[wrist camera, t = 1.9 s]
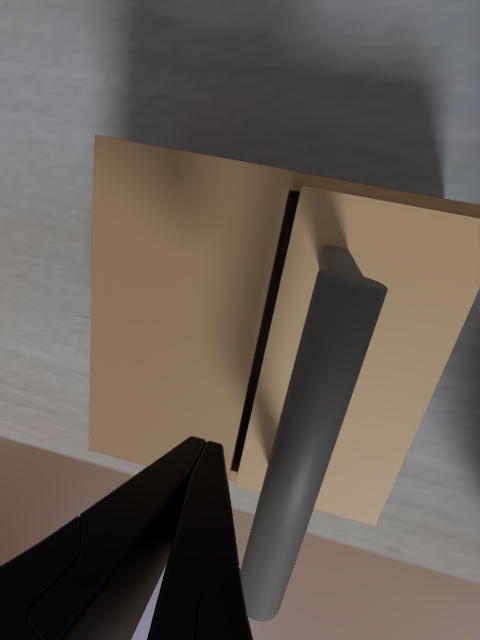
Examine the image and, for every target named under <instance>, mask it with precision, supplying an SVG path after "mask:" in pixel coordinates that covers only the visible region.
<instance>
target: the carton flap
mask: <svg viewBox="0 0 480 640" xmlns="http://www.w3.org/2000/svg"><path fill="white" fill-rule="evenodd" d="M479 288H480V219H479V218H474V217H468V216H463V215H458V214H452V213H447V212H441V211H436V210H431V209H425V208H420V207H414V206H409V205H404V204H398V203H393V202H387V201H382V200H376V199H371V198H366V197H360V196H355V195H349V194H344V193H339V192H333V191H328V190H322V189H317V188H312V187H306V186H302V187H301V192H300V196H299V201H298V205H297V210H296V214H295V219H294V223H293V228H292V232H291V237H290V241H289V246H288V250H287V255H286V259H285V264H284V268H283V273H282V277H281V282H280V286H279V291H278V295H277V300H276V304H275V309H274V313H273V318H272V322H271V327H270V331H269V336H268V340H267V345H266V349H265V354H264V358H263V363H262V367H261V372H260V377H259V381H258V386H257V390H256V395H255V399H254V404H253V408H252V413H251V417H250V422H249V426H248V431H247V435H246V440H245V444H244V449H243V453H242V458H241V462H240V467H239V471H238V476H237V480H236V486H239V487H243V488H246V489H250V490H253V491H256V492H260V497H259V501H258V505H257V509H256V513H255V517H254V521H253V525H252V528H251V532H250V536H249V540H248V544H247V548H246V551H245V555H244V559H243V563H242V567H241V571H240V572H241V579H242V586H243V592H244V598H245V604H246V610H247V616H248V617H249V618H251V619H253V620H256V621H268V620H270V619H272V618H273V617H274V616H275V615H276V614H277V613H278V611H279V608H280V606H281V603H282V600H283V597H284V594H285V591H286V588H287V585H288V582H289V579H290V576H291V573H292V571H293V568H294V565H295V562H296V559H297V556H298V553H299V550H300V547H301V544H302V541H303V538H304V535H305V532H306V529H307V526H308V523H309V521H310V518H311V515H312V512H313V509H317V510H321V511H324V512H327V513H331V514H334V515H338V516H341V517H344V518H348V519H351V520H355V521H358V522H361V523H365V524H368V525H371V526H376V523H377V521H378V519H379V516H380V514H381V512H382V510H383V507H384V505H385V503H386V500H387V498H388V496H389V494H390V491H391V489H392V487H393V484H394V482H395V480H396V478H397V475H398V473H399V471H400V469H401V466H402V464H403V462H404V459H405V457H406V455H407V453H408V450H409V448H410V446H411V443H412V441H413V439H414V437H415V434H416V432H417V430H418V427H419V425H420V423H421V421H422V418H423V416H424V414H425V411H426V409H427V407H428V405H429V402H430V400H431V398H432V396H433V393H434V391H435V389H436V386H437V384H438V382H439V380H440V377H441V375H442V373H443V370H444V368H445V366H446V364H447V361H448V359H449V357H450V354H451V352H452V350H453V348H454V345H455V343H456V341H457V338H458V336H459V334H460V332H461V329H462V327H463V325H464V322H465V320H466V318H467V316H468V313H469V311H470V309H471V307H472V304H473V302H474V300H475V297H476V295H477V293H478V291H479Z"/></svg>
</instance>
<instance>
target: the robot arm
mask: <svg viewBox="0 0 480 640" xmlns="http://www.w3.org/2000/svg"><path fill="white" fill-rule="evenodd" d="M166 564H167V565H166ZM165 566H166V569H165V573H164V576H163V580H162V584H161V588H160V592H159V596H158V600H157V603H156V607H155V611H154V615H153V618H152V622H151V626H150V630H149V634H148V638H147V640H253V638H252V633H251V629H250V624H249V620H248V616H247V610H246V604H245V598H244V592H243V586H242V579H241V572H240V568H239V559H238V552H237V545H236V537H235V529H234V523H233V515H232V507H231V500H230V493H229V485H228V478H227V471H226V463H225V456H224V449H223V445H222V444H221V443H217V442H213V441H207V442H206V440H205V439H202V438H199V437H195V436H190V437H188V438H187V439H186V440H184V441H183V442H181V443H180V444H179V445H177V446H176V447H174V448H173V449H171V450H170V451H169V452H167V453H166V454H164V455H163V456H162V457H160V458H159V459H157V460H156V461H155V462H153V463H152V464H150V465H149V466H148V467H146V468H145V469H143V470H142V471H140V472H139V473H138V474H136V475H135V476H133V477H132V478H131V479H129V480H128V481H126V482H125V483H124V484H122V485H121V486H119V487H118V488H117V489H115V490H114V491H112V492H111V493H110V494H108V495H107V496H105V497H104V498H103V499H101V500H100V501H98V502H97V503H95V504H94V505H93V506H91V507H90V508H88V509H87V510H85V511H84V512H83V513H81V514H80V517H79V516H77V517H75V518H74V519H73V520H71V521H70V522H69V523H67V524H66V525H64V526H63V527H61V528H60V529H58V530H57V531H55V532H54V533H52V534H51V535H49V536H48V537H46V538H45V539H43V540H42V541H41V542H39V543H38V544H36V545H34V546H33V547H31V548H30V549H28V550H26V551H24V552H23V553H21V554H20V555H18V556H16V557H15V558H13V559H11V560H10V561H8V562H6V563H5V564H3V565H1V566H0V640H131V639H132V637H133V634H134V632H135V630H136V628H137V626H138V623H139V621H140V619H141V617H142V615H143V613H144V611H145V609H146V606H147V604H148V602H149V600H150V598H151V596H152V594H153V591H154V589H155V587H156V585H157V583H158V581H159V578H160V576H161V574H162V572H163V570H164V568H165Z"/></svg>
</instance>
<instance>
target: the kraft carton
mask: <svg viewBox="0 0 480 640" xmlns="http://www.w3.org/2000/svg"><path fill="white" fill-rule="evenodd" d="M302 186H306V187H312V188H317V189H322V190H328V191H333V192H339V193H344V194H349V195H355V196H360V197H366V198H371V199H376V200H382V201H387V202H393V203H398V204H404V205H409V206H414V207H420V208H425V209H431V210H436V211H441V212H447V213H452V214H458V215H463V216H468V217H474V218H479V219H480V205H476V204H471V203H465V202H460V201H454V200H449V199H443V198H438V197H432V196H427V195H421V194H415V193H410V192H404V191H399V190H393V189H388V188H382V187H377V186H371V185H366V184H360V183H355V182H349V181H344V180H338V179H333V178H327V177H321V176H316V175H310V174H305V173H299V172H294V171H292V170H287V169H281V168H276V167H270V166H265V165H259V164H254V163H248V162H243V161H237V160H232V159H226V158H220V157H215V156H209V155H204V154H198V153H193V152H187V151H182V150H176V149H171V148H165V147H160V146H154V145H148V144H143V143H137V142H132V141H126V140H121V139H115V138H110V137H104V136H99V135H95V144H94V196H93V248H92V299H91V351H90V403H89V450H92V451H95V452H99V453H102V454H106V455H109V456H113V457H116V458H119V459H123V460H126V461H130V462H133V463H137V464H140V465H143V466H147V467H148V466H149V465H150V464H152V463H153V462H155V461H156V460H157V459H159V458H160V457H162V456H163V455H164V454H166V453H167V452H169V451H170V450H171V449H173V448H174V447H176V446H177V445H179V444H180V443H181V442H183V441H184V440H186V439H187V438H188V437H190V436H195V437H199V438H202V439H205V440H206V442H207V441H213V442H217V443H221V444H222V445H223V449H224V456H225V463H226V471H227V478H228V480H231V481H234V482H236V480H237V476H238V471H239V467H240V462H241V458H242V453H243V449H244V444H245V440H246V435H247V431H248V426H249V422H250V417H251V413H252V408H253V404H254V399H255V395H256V390H257V386H258V381H259V377H260V372H261V367H262V363H263V358H264V354H265V349H266V345H267V340H268V336H269V331H270V327H271V322H272V318H273V313H274V309H275V304H276V300H277V295H278V291H279V286H280V282H281V277H282V273H283V268H284V264H285V259H286V255H287V250H288V246H289V241H290V237H291V232H292V228H293V223H294V219H295V214H296V210H297V205H298V201H299V196H300V192H301V187H302Z"/></svg>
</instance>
